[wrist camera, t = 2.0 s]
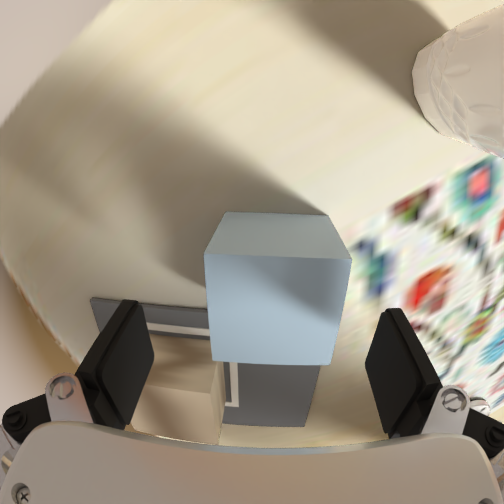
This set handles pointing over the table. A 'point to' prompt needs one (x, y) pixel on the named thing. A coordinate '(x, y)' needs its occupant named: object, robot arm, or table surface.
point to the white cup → (465, 82)
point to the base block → (182, 392)
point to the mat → (235, 370)
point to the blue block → (275, 288)
